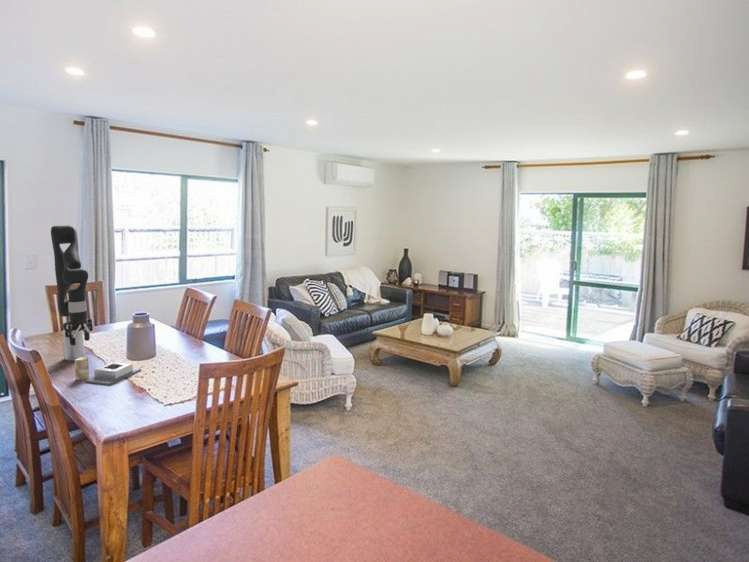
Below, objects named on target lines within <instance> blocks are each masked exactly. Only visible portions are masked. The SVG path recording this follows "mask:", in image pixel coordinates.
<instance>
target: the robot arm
mask: <svg viewBox="0 0 749 562" xmlns="http://www.w3.org/2000/svg"><path fill="white" fill-rule="evenodd" d="M77 232H78V231H77V229H76V227H75V226H74V225H70V224H68V225H52V227H51V229H50V236H51V244H52V248H53V249H52V250H53V257H54V271H55V280H56V287H57V309H58V314H59V316H60V317H64V318H65V317H68V319H69V320H68V321H66V322H64V323H63V324H62V334H63V342H62V352H63V353H62V354H63V355H62V356H63V360H65V361H69V362H71V361H72V362H73V361H74V362H75V360H76V359H78V358H81V357H82V358H86V357H85V356H86V355H85V344H84V343H85V342H84V341H86V342H87V341H90V338H91V335H90V333H91V332H92V331H93V328H94V327H93V320H92V318H88V309H87V307H88V306H87V299H86V287H87V284H88V280H89V273H88V270H87V269H85V268H82V263H81V259H80V253H79V241H78V240H79V239H78V234H77ZM61 244H62V245H65V244H69V246H68V247H66V249H65V250H64V251H63V249H62V247H61V246H60V245H61ZM74 284H75V285H76V284H79V285H78V286H77V287H74V288H73V287H72V286H73V285H74ZM71 287H72V288H71ZM66 295H67V296H68V298H67V299H66Z"/></svg>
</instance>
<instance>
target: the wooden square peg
mask: <svg viewBox="0 0 749 562" xmlns="http://www.w3.org/2000/svg"><path fill="white" fill-rule="evenodd" d="M89 367H90V366H89V358H88V357H84V358H82V357H81V358H78V359H76V360H74V371H75V380H76V381H85V380H87V379H89V378H90V369H89Z"/></svg>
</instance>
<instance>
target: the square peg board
mask: <svg viewBox="0 0 749 562" xmlns="http://www.w3.org/2000/svg"><path fill="white" fill-rule="evenodd" d="M141 371H142V368H139V367H134V366H133V363H127V362H125V363H124V362H117V361H110V362H108V363H105V364H103V365H101V366H99V367H96V368H93V374H94V376H91V377H89V378H87V379H85V380H84V383H87V384H97V385H104V386H112V385H114V384H116V383H118V382H120V381H122V380H124V379H126V378H128V377H131V376H132V375H134V374H137V373H140V372H141ZM130 375H131V376H130Z"/></svg>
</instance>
